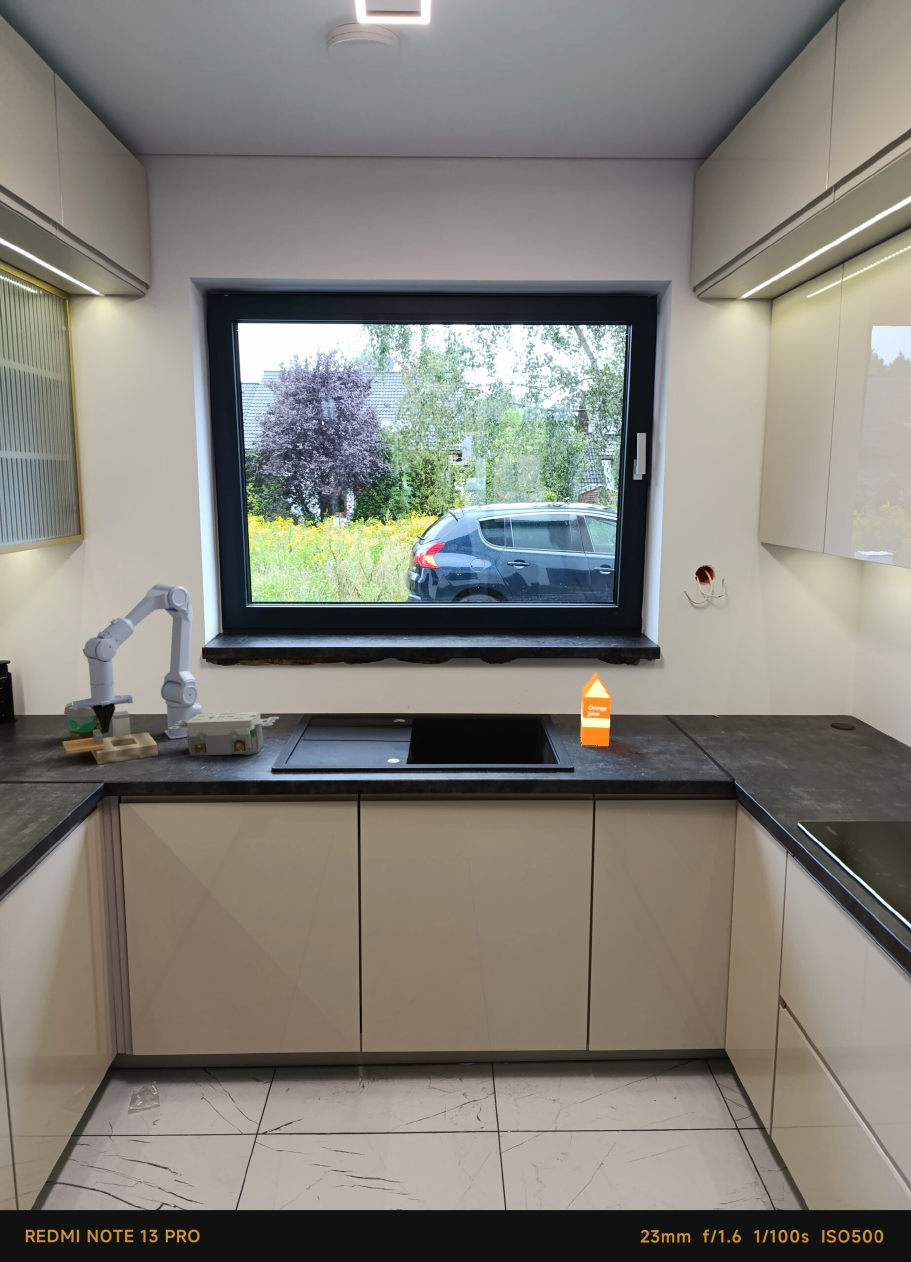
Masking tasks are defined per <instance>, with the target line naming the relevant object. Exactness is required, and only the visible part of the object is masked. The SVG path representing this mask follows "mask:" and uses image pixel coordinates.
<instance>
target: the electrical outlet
mask: <svg viewBox="0 0 911 1262" xmlns="http://www.w3.org/2000/svg"><path fill="white" fill-rule="evenodd" d="M279 719H280V717H279V716H270V717H268V718H261V712H260V711H242V712H216V713H215V712H214V713H212V712H211V713H202V714H197V715H196V716H194V717H193V718H192V719H190V720H180V721H178V722H177V724H174V726H172V727H170V728H168V727H167V730H168V729H169V730H177V729H180V728H187V730H186V731H187V737H186V738H187V739H186V740H187V747H188V751H189V754H190V756H219V755H220V756H221V755H222V756H223V755H225V756H226V755H232V754H233V755H243V756H245V755H246V756H249V755H253V754H257V753H259V752H260V751H261V749H262V745H263V744H264V739H263V738H264V737H263V727H265V728H266V727H273V725H274V723H275V722H276V721H277V720H279ZM183 724H185V725H183Z"/></svg>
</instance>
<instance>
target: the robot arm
mask: <svg viewBox="0 0 911 1262" xmlns="http://www.w3.org/2000/svg"><path fill="white" fill-rule="evenodd" d="M157 610H164V611H166V612H167V613H168V615H170V616H171V617H172V626H171V627H172V628H171V629H172V630H171V645H170V646H171V647H170V649H171V650H170V661H169V662H170V664H169V672H167V674H166V675H164V678H163V679H164V680H163V684H162V686H161V688H160V696H161V698H162V699H163V700H164V701H165V705H166V715H167V716H166V717H167V730H164V733H165V735H166V736H167V737H168V738H169V739H170V740H174V739H179V738H187V731H186V730H187V728H180V729H177V730H169V729H168V728H170V727H172V726H174V724H177V722H178V721H180V720H190V719H192V718H193V717H194V716H196V715H197V714H203V710H202V705H201V703H200V702H197V699H198V697H199V691H198V688H197V679H196V678H195V676H194V675H193V674H192V673H191V659H192V642H193V640H192V639H193V624H194V622H193V621H194V610H193V606H192V603H191V593H190V592H189V591H188V590H187V589H186V588H185V587H183V586H182V585H172V584H164V583H156V584H154V585H153V586H152V587H151V588H150V589H148V590H147V591H146V594H145V596H144V597H143V598H142V599H141V600H140V601H139V602H138V603H137V604H136V605H135V606H134V607H133V608H132V609H131V611H130V612H128V613H127V615H126V616H125V617H124V618H123V617H121V618H120V617H118V618H116V619H115V618H114V619H113V618H112V620H111V621H110V624H109V625H108V626H106V628H104V630H102V631H99V632H98V633H97V637H96V636H94V637H91V638H89V639H88V640H87V641H85V643H84V648H82V652H83V655H84V656H85V657H86V659H87V663H88V669H89V670H88V671H89V672H88V673H89V674H88V675H89V687H90V698H85V699H80V700H74V701H72V705H73V709H74V710H78V709H83V708H91V707H92V709H93V710H94V712H95V714H96V716H97V718H98V720H99V722H100V725H101V729H102V733H103V734H108V733H109V732H110V731H109V729H110V724H111V721H112V716H113V713H114V712H116V711H115V710H116V706H115V705H122V704H130V705H131V704H133V702H134V701H133V696H132V694H126V695H125V694H123V695H115V686H114V685H115V684H114V672H113V671H114V669H113V658H115V656H116V654H117V650H118V649H119V647H120V646H122V644H123V643H124V642H125V641H127V640H128V639H129V638H131V636H132V635H133V634H134V627H136V626H137V625H138V624H139V623H141V622H143V620H144V619H146V618H147V617H148V616H149V615H150V614H152V613H153V612H154V611H157ZM102 706H103V707H102ZM183 725H185V724H183Z"/></svg>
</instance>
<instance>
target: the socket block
mask: <svg viewBox="0 0 911 1262" xmlns="http://www.w3.org/2000/svg"><path fill="white" fill-rule="evenodd" d="M103 745H104V749H99V750H92V751H90V752H91V753H92V755H93V757H94V758H95V760H96V762H97V765H101V764H108V763H114V762H115V763H116V762H121V761H128V760H129V761H130V760H135V759H141V758H142V759H143V758H147V757H155V756H159V753H158V752H159V751H158V744H157V742H156V741H155V740H154V738H153V737H152V736H151V735H150V733H149V732H148V731H146V732H139V733H132V734H131V733H130V735H123V736H115V737H113V736H109V737H103Z"/></svg>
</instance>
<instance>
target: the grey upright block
mask: <svg viewBox="0 0 911 1262" xmlns="http://www.w3.org/2000/svg"><path fill="white" fill-rule="evenodd" d="M111 721H112V722H111V723H112V737H115V736H123V735H130V734H131V723H130V721H131V719H130V713H129V711H127V710H122V711H114V713H113V716H112V718H111Z"/></svg>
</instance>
